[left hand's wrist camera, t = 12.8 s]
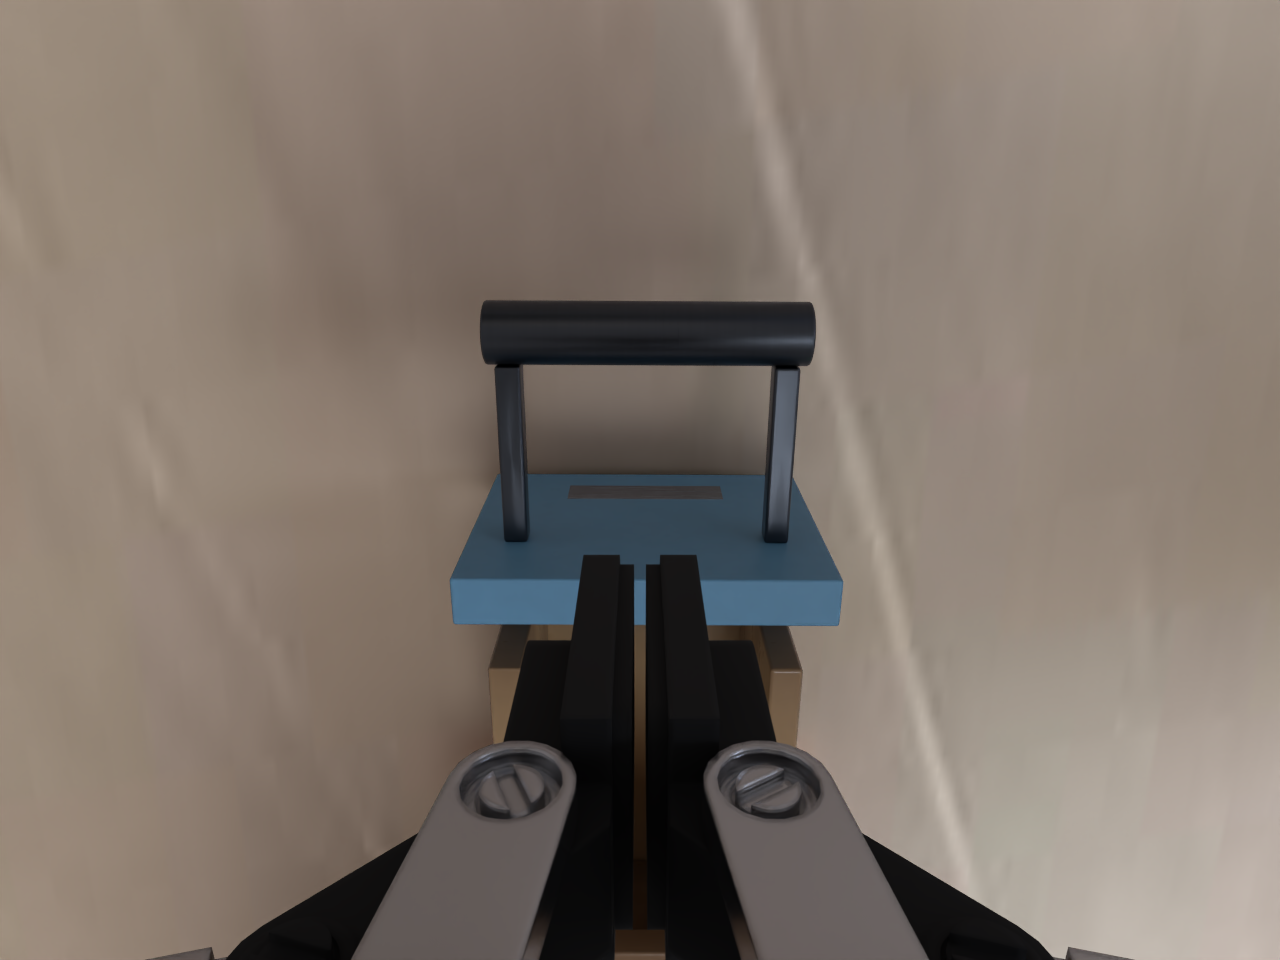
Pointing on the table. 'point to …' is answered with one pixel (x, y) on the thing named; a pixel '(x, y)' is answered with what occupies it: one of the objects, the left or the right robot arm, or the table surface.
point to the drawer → (648, 506)
